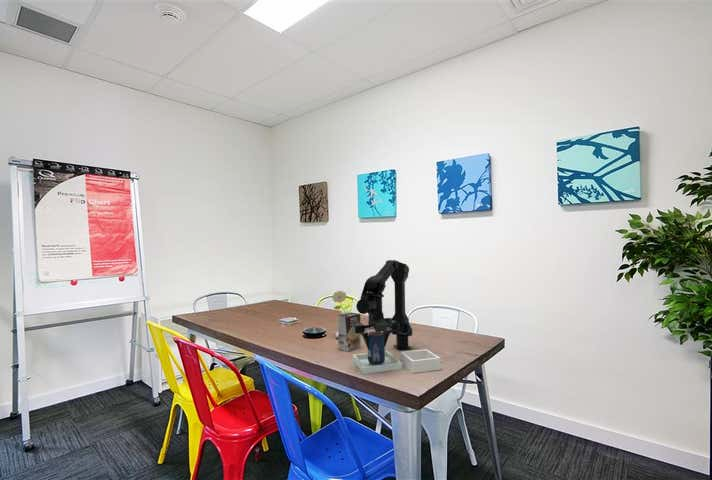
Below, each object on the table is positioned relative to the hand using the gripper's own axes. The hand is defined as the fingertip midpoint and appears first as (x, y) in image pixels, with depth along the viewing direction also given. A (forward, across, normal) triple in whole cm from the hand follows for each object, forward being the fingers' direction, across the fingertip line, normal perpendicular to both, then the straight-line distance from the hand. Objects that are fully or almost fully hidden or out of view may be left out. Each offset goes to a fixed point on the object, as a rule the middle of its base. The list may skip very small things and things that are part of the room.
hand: (376, 347), depth 139 cm
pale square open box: (+7, +16, -7) cm, 19 cm away
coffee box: (+7, -5, +25) cm, 26 cm away
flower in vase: (+7, -3, +44) cm, 45 cm away
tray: (+7, 0, 0) cm, 7 cm away
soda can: (+6, 0, 0) cm, 6 cm away
